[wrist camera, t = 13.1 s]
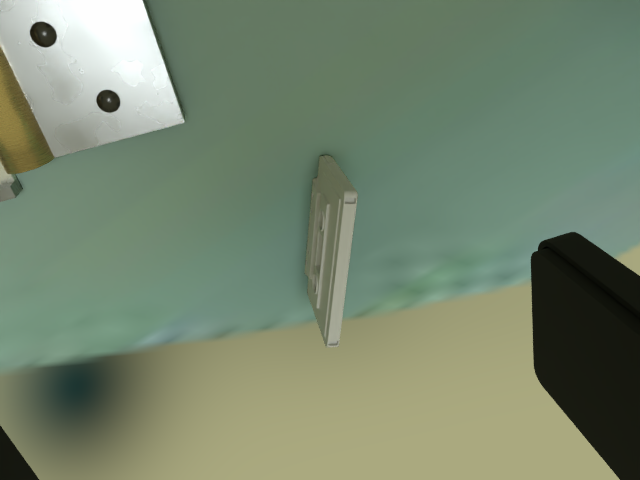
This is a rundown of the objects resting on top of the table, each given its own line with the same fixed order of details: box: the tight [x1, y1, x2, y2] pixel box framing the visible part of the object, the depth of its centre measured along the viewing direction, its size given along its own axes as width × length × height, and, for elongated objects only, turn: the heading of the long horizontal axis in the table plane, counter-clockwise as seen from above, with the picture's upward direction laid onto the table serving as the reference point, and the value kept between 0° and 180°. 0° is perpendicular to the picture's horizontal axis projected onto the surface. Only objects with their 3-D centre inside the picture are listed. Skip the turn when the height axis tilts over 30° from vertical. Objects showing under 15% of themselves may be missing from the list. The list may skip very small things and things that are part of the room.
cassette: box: [305, 155, 358, 347], centre depth 39 cm, size 12×2×8 cm, turn 175°
